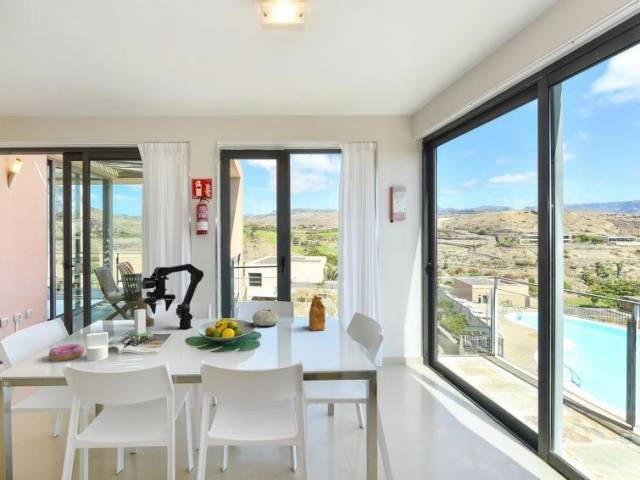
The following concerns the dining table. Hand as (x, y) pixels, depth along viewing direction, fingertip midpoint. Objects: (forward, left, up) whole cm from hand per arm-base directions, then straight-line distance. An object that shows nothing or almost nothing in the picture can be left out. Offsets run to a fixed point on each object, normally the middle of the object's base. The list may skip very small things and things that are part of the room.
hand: (160, 312), depth 221 cm
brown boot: (-8, -24, -13) cm, 29 cm away
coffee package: (-56, +80, -13) cm, 98 cm away
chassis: (+17, +4, -13) cm, 22 cm away
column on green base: (+17, +4, -9) cm, 19 cm away
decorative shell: (-48, +45, -13) cm, 67 cm away
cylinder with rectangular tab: (+44, +9, -13) cm, 47 cm away
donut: (+51, -5, -13) cm, 53 cm away
